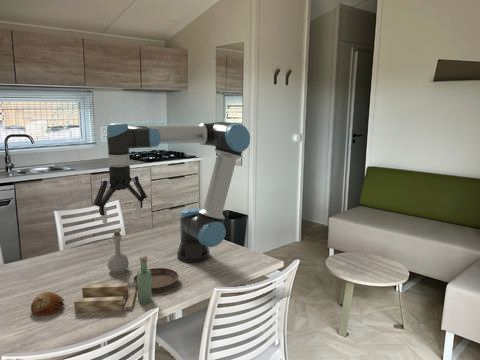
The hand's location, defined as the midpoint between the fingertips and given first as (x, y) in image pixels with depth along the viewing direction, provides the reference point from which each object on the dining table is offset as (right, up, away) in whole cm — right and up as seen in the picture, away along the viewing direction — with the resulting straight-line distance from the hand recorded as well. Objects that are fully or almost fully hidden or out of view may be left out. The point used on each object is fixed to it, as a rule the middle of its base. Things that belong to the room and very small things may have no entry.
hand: (122, 220), depth 156 cm
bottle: (+10, -29, -6) cm, 31 cm away
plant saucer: (+12, -27, +8) cm, 30 cm away
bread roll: (-22, -30, -13) cm, 40 cm away
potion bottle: (-7, -24, +19) cm, 32 cm away
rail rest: (-3, -29, -8) cm, 30 cm away
